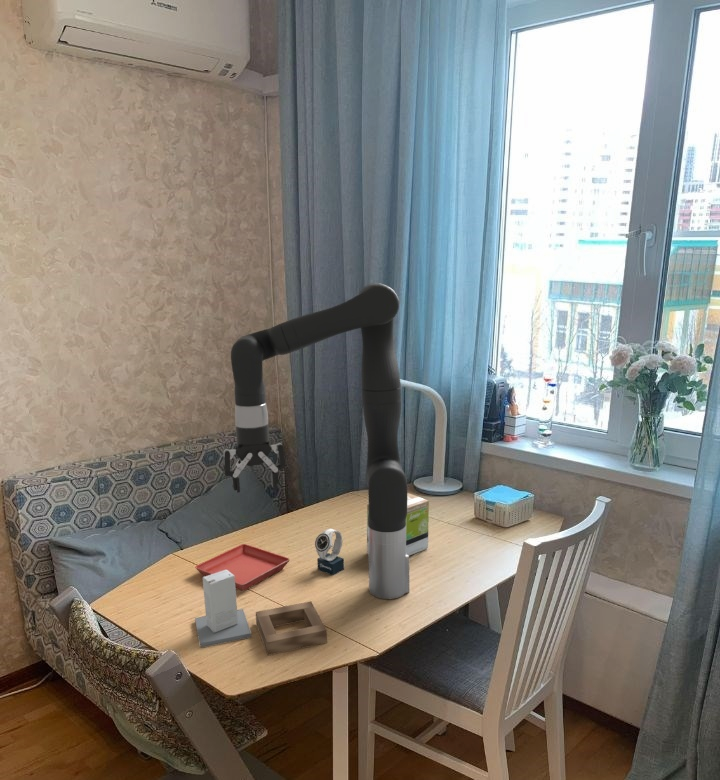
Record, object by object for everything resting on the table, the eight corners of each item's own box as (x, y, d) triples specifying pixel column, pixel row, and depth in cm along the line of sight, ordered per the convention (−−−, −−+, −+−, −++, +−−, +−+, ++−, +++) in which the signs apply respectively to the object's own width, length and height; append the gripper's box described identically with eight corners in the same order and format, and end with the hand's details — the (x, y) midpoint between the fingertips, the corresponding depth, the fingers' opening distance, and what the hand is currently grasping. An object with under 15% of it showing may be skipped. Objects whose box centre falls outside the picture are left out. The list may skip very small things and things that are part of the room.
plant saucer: (243, 553, 189) (243, 542, 189) (291, 569, 179) (291, 557, 178) (194, 578, 175) (193, 566, 174) (243, 597, 165) (242, 585, 164)
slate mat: (243, 612, 157) (242, 608, 157) (251, 637, 147) (251, 633, 146) (195, 621, 153) (194, 617, 153) (200, 647, 143) (199, 643, 143)
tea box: (391, 565, 179) (390, 513, 176) (366, 553, 187) (365, 503, 184) (429, 548, 189) (429, 499, 186) (404, 538, 196) (404, 490, 193)
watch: (312, 572, 176) (311, 533, 174) (332, 561, 182) (331, 523, 180) (328, 578, 173) (327, 538, 170) (348, 567, 179) (347, 528, 176)
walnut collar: (311, 613, 156) (311, 601, 155) (327, 642, 144) (326, 629, 143) (256, 623, 152) (255, 611, 151) (267, 655, 140) (267, 642, 139)
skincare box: (230, 616, 153) (226, 567, 151) (239, 624, 150) (236, 574, 147) (205, 626, 150) (201, 575, 147) (213, 634, 146) (210, 583, 144)
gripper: (278, 415, 161) (281, 480, 164) (218, 422, 156) (223, 488, 159) (285, 422, 154) (288, 489, 157) (223, 429, 149) (227, 498, 152)
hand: (255, 488), depth 158 cm, fingers open, 8 cm apart
